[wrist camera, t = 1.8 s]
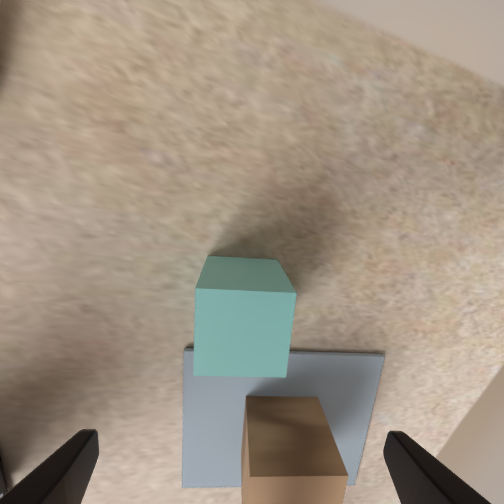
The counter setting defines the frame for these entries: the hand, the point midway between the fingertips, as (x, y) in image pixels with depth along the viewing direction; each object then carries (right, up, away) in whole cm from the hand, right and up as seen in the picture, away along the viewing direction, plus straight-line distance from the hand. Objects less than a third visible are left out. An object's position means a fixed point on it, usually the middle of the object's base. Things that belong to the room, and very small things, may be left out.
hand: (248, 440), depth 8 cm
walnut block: (+2, -9, +14) cm, 17 cm away
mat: (+2, -9, +14) cm, 17 cm away
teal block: (-1, +3, +11) cm, 12 cm away
